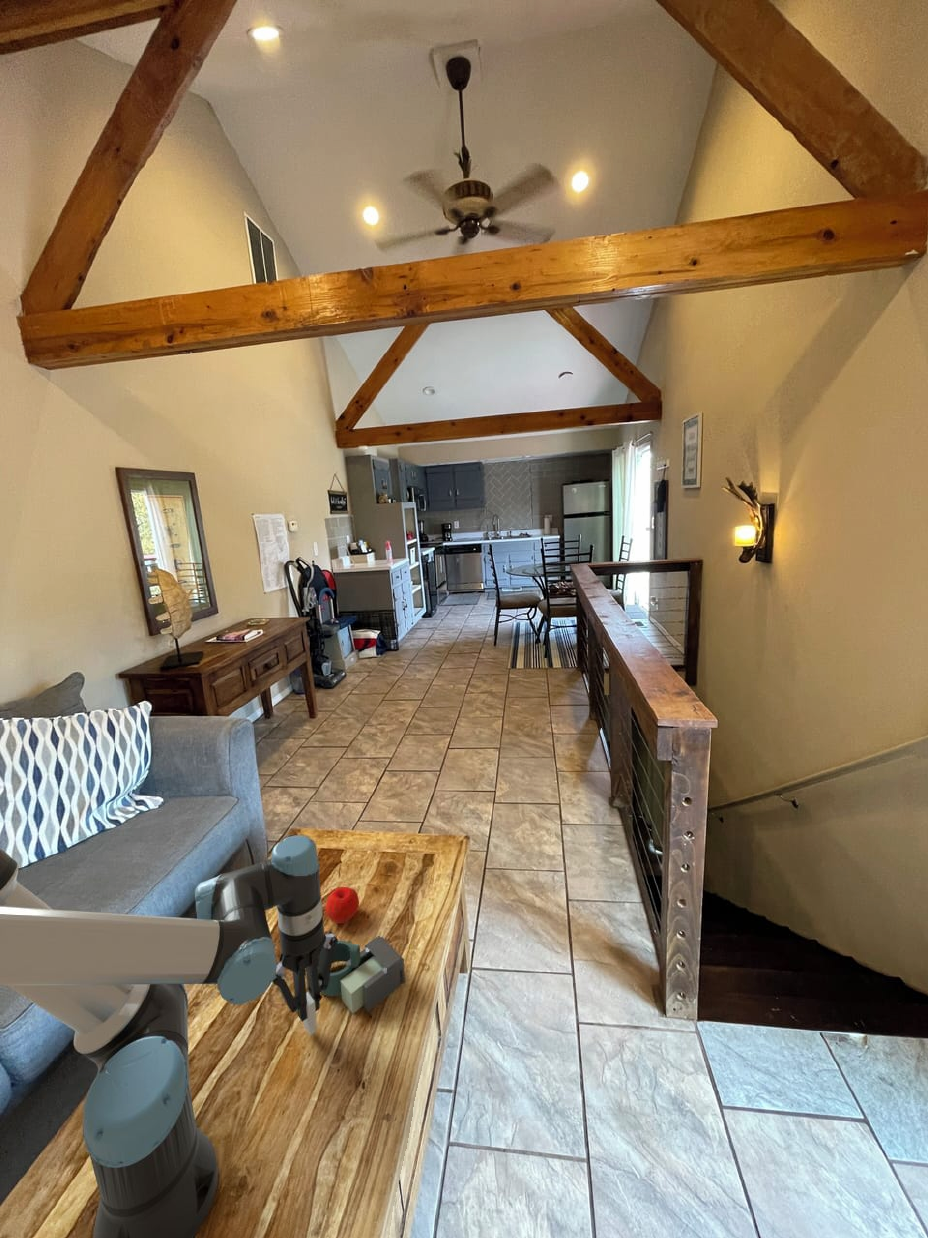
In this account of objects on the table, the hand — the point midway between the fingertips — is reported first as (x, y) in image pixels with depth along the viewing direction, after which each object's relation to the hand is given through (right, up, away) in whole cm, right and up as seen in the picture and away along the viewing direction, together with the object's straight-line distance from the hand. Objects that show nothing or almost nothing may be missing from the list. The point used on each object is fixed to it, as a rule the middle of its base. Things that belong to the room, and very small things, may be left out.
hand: (310, 1027), depth 95 cm
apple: (0, +4, +27) cm, 27 cm away
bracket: (+2, +2, +11) cm, 12 cm away
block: (+9, 0, +9) cm, 13 cm away
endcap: (+10, +1, +10) cm, 14 cm away
